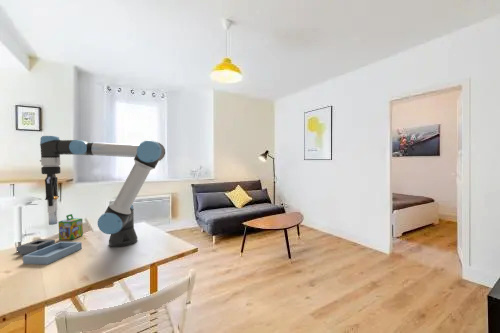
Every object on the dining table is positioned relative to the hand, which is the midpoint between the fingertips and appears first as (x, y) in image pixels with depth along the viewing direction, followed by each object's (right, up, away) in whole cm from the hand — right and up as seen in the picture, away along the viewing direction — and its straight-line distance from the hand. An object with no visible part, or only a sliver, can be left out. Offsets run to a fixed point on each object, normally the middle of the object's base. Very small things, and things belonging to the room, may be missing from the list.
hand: (52, 211), depth 123 cm
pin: (0, -7, 0) cm, 7 cm away
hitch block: (-16, -23, +7) cm, 29 cm away
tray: (0, -23, +1) cm, 23 cm away
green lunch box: (-12, -23, +29) cm, 39 cm away
